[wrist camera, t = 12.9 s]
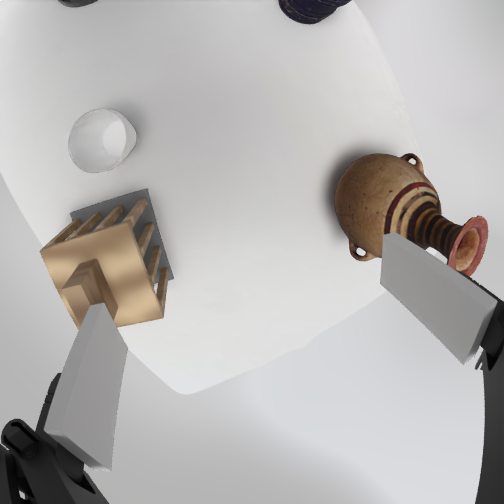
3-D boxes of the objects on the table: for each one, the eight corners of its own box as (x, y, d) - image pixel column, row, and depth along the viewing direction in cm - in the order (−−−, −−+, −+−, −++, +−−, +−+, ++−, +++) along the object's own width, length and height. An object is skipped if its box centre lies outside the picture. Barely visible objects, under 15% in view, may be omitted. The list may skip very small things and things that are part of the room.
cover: (74, 220, 44) (16, 273, 24) (145, 197, 45) (114, 243, 26) (101, 288, 50) (69, 363, 31) (168, 272, 52) (160, 350, 33)
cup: (103, 172, 42) (78, 184, 32) (89, 126, 38) (60, 125, 28) (149, 153, 43) (135, 159, 32) (135, 105, 39) (117, 97, 28)
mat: (71, 212, 44) (70, 213, 43) (147, 188, 45) (146, 189, 45) (102, 294, 51) (102, 295, 51) (173, 277, 53) (173, 279, 53)
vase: (368, 127, 48) (494, 144, 22) (406, 191, 56) (511, 240, 29) (295, 197, 52) (395, 269, 25) (344, 255, 59) (434, 340, 32)
